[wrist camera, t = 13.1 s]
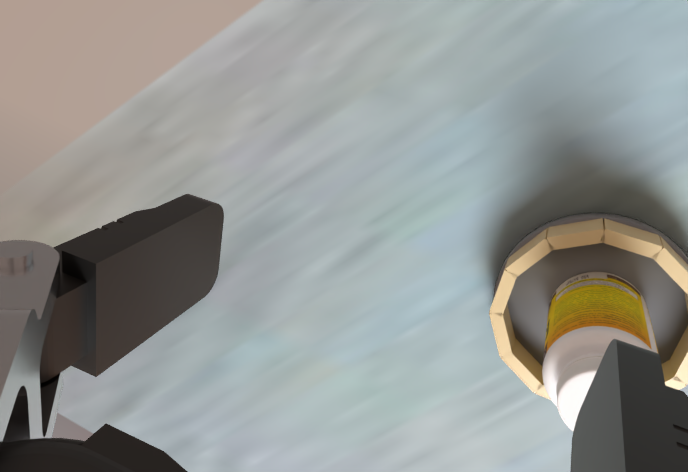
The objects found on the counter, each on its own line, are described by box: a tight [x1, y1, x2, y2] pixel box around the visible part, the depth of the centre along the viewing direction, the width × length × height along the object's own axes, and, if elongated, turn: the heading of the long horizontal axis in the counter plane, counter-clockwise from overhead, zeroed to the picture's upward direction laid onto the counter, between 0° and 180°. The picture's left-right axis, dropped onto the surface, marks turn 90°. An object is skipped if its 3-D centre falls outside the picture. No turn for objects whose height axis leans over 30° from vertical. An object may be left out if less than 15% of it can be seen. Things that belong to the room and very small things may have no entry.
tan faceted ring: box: [489, 213, 688, 400], centre depth 36 cm, size 12×12×3 cm
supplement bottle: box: [542, 272, 658, 431], centre depth 32 cm, size 6×6×10 cm
